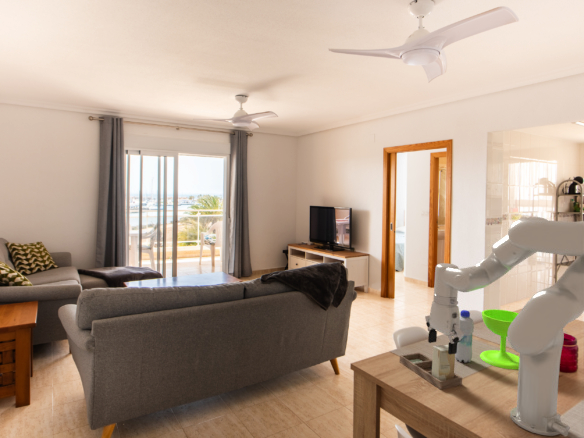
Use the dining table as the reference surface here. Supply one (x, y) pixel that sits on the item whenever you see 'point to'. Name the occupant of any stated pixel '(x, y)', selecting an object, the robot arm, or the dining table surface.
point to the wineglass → (499, 325)
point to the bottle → (465, 338)
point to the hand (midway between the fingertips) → (441, 347)
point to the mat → (415, 360)
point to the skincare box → (442, 363)
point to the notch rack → (427, 375)
